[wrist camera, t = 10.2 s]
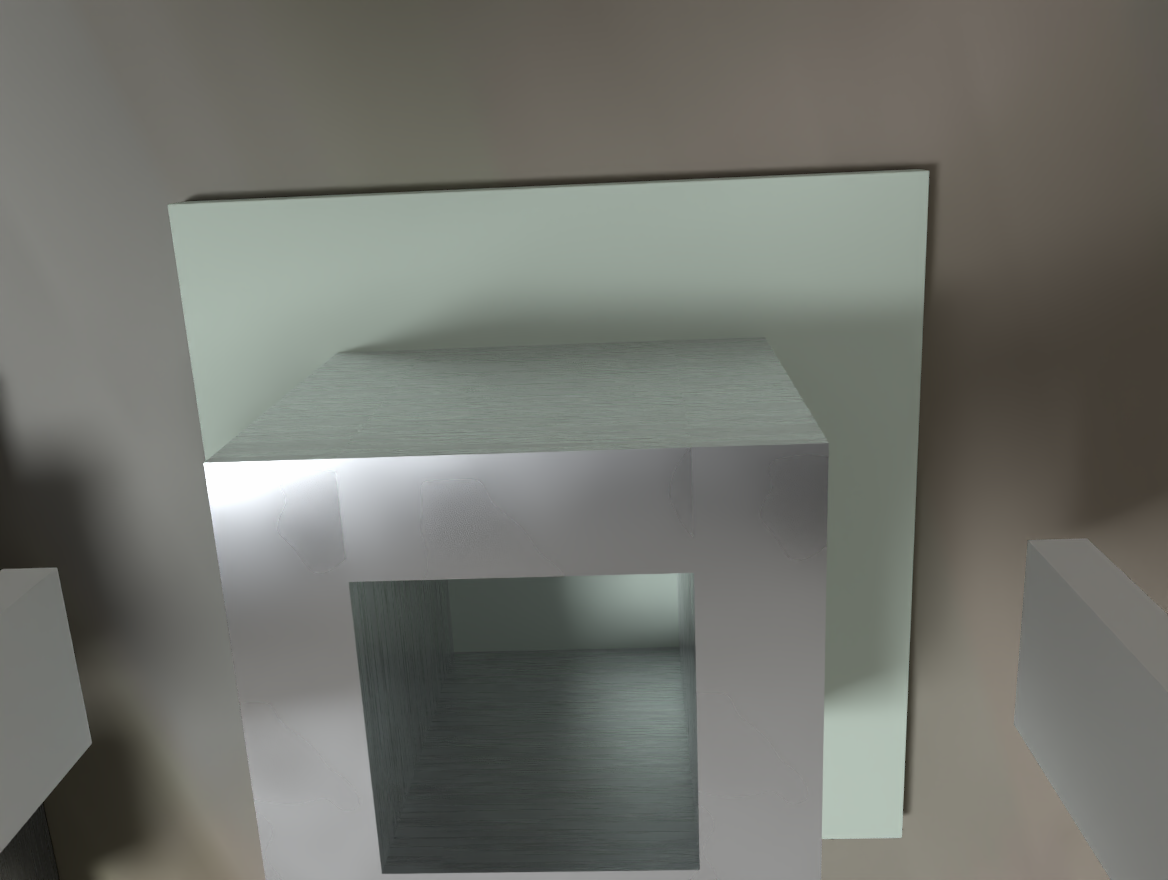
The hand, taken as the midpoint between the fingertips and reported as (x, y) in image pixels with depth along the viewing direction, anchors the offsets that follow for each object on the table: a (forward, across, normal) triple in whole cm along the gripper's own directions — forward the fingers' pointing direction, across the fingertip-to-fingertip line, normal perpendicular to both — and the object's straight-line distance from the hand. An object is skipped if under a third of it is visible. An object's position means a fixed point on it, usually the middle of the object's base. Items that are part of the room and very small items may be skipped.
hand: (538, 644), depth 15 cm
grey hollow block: (+4, 0, 0) cm, 4 cm away
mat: (+5, 0, 0) cm, 5 cm away
